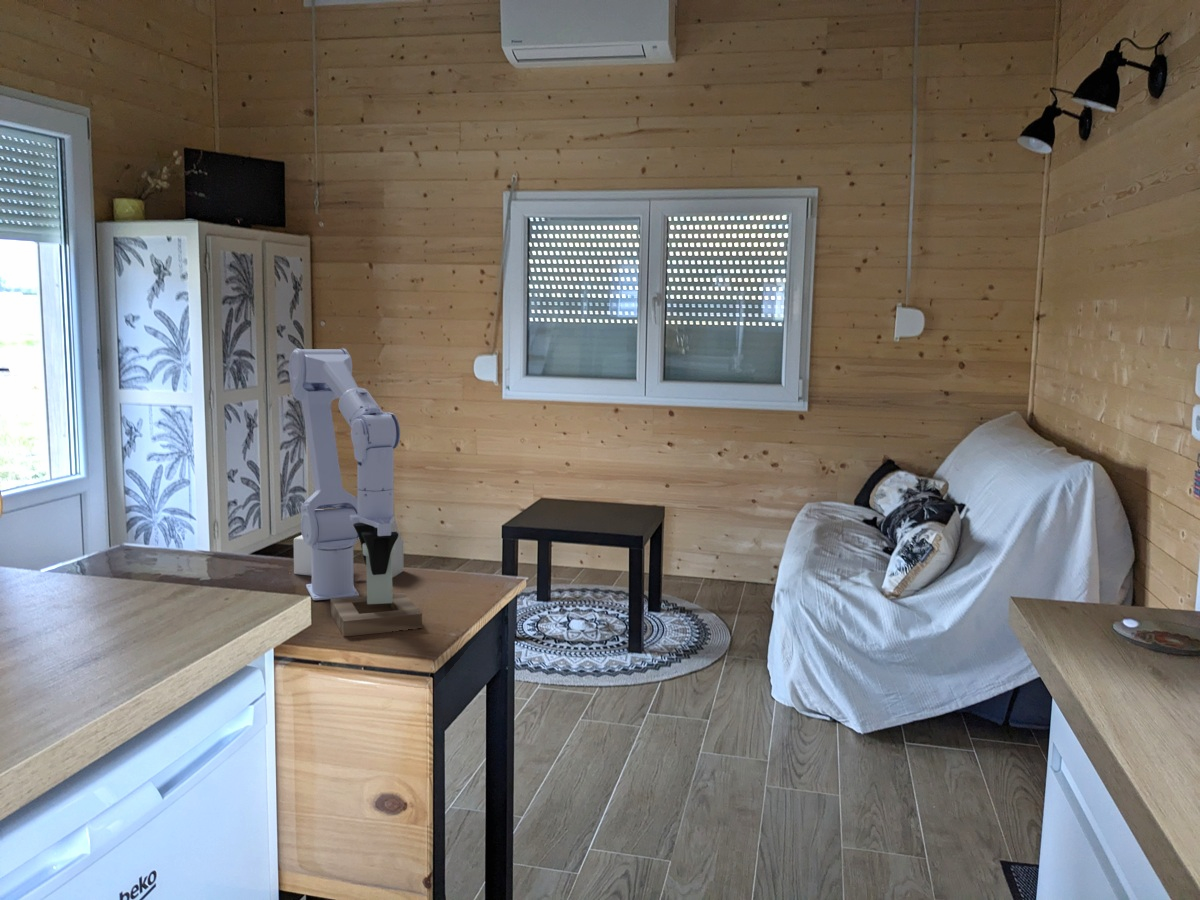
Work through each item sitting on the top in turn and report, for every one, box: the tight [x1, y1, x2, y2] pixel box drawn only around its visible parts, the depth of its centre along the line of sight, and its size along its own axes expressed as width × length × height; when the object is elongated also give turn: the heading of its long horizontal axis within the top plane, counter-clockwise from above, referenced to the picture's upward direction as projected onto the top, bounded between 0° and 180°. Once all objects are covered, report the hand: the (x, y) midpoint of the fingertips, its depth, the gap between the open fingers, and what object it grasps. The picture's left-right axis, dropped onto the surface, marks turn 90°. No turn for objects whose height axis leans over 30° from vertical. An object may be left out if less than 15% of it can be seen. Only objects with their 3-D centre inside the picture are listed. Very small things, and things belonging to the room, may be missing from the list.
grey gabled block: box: [391, 520, 404, 579], centre depth 192 cm, size 4×7×10 cm, turn 168°
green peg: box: [362, 543, 395, 604], centre depth 163 cm, size 5×5×10 cm
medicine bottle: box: [293, 508, 325, 577], centre depth 192 cm, size 7×7×12 cm
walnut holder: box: [330, 592, 423, 637], centre depth 164 cm, size 12×12×2 cm
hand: (375, 569), depth 163 cm, fingers closed on green peg, 5 cm apart
